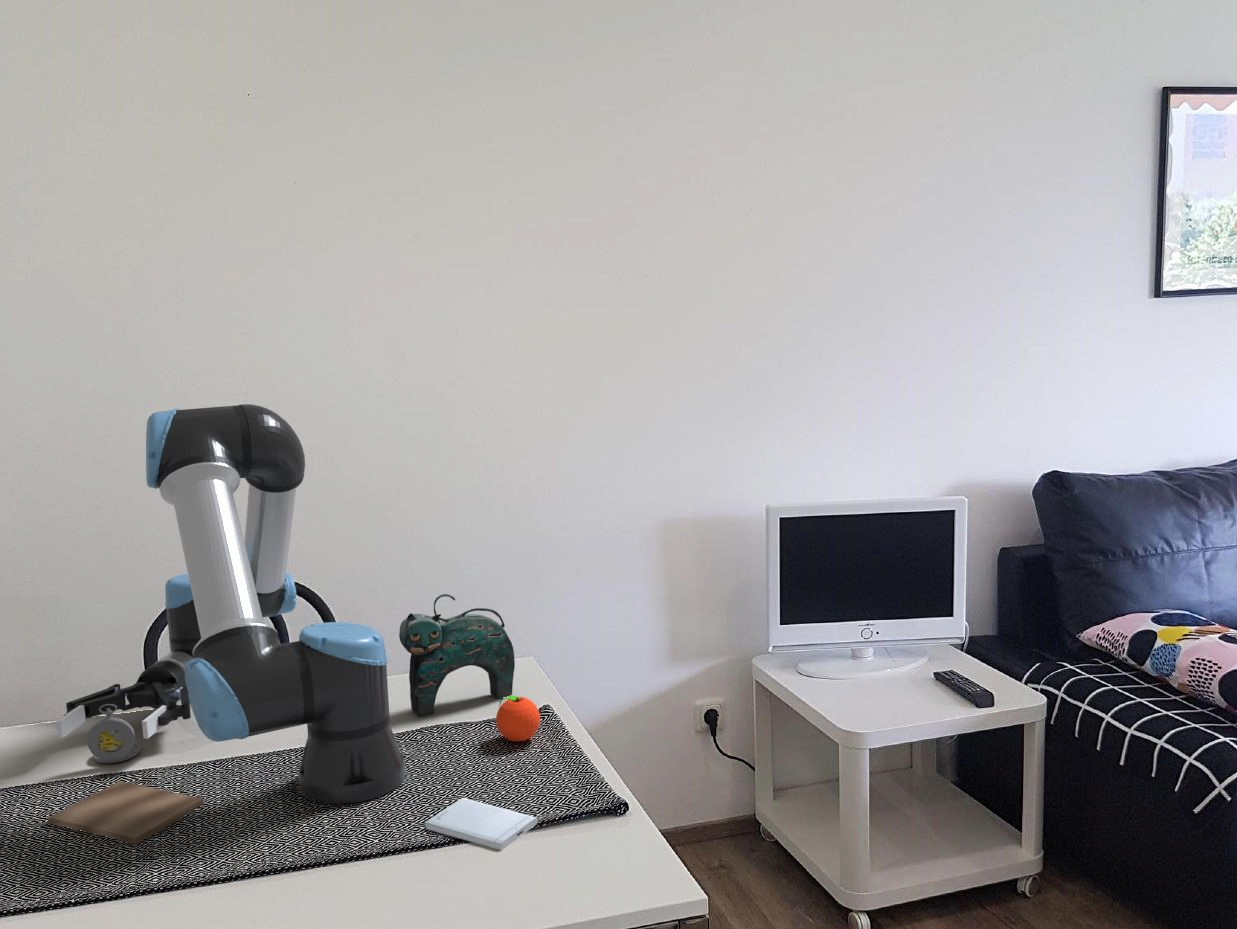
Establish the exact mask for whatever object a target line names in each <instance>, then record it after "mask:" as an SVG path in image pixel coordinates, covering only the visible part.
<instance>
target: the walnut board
mask: <svg viewBox="0 0 1237 929" xmlns="http://www.w3.org/2000/svg"><path fill="white" fill-rule="evenodd" d="M203 804H204V798H200V797H195V796H191V795H186V794H181V793H177V792H173V791H168V790H164V789H158V788H154V787H150V786H144V785H140V784H135V783H132V782H131V783H130V782H127V781H126V782H125V781H122V780H120V781H118V782H115V783H113V784H112V785H110V786H107V787H105V788H104V789H102V790H100V791H98V792H96V793H93V794H92V795H90V796H88V797H86V798H84V799H82V800H80V801H78V802H76V803H73V804H72V805H70V806H68V807H66V808H63V809H62V810H59V811H58V812H56V813H54V814H52V815H50V816H48V817H47V818H48V824H49V823H50V824H49V825H51V824H55V825H57V826H56V827H59V826H62V827H61V828H63V827H69V828H72V829H77V830H82V831H85V832H88V833H93V834H97V835H102V836H107V837H110V838H114V839H117V840H121V841H125V842H128V843H130V844H129V845H133V844H134V845H133V846H136V845H138V844H139V842H140V843H141V842H143V841H145V840H147V839H148V838H150V837H152V836H154V835H155V834H157V833H159V832H160V831H162V830H164V829H166V828H167V827H169V826H171V825H172V823H173V824H174V823H176V822H177V820H178V821H179V819H180V818H181V819H183V818H185V817H186V816H185V815H187V816H188V815H189V814H188V813H190V812H192V811H193V810H195V809H197V808H198V807H200V806H202V805H203ZM202 807H203V806H202ZM200 808H201V807H200ZM197 810H198V809H197ZM195 811H196V810H195ZM193 812H194V811H193ZM193 812H192V813H193ZM190 814H191V813H190ZM184 816H185V817H184ZM182 817H183V818H182ZM181 819H180V820H181ZM170 824H171V825H170ZM55 825H54V826H55ZM165 827H166V828H165ZM88 833H87V834H88ZM153 834H154V835H153ZM149 836H150V837H149ZM146 838H147V839H146ZM144 839H145V840H144ZM142 840H143V841H142ZM128 843H127V844H128Z"/></svg>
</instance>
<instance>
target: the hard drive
mask: <svg viewBox="0 0 1237 929" xmlns="http://www.w3.org/2000/svg"><path fill="white" fill-rule="evenodd" d="M538 819H539V818H538V817H536V816H532V815H528V814H525V813H521V812H518V811H514V810H510V809H506V808H502V807H498V806H495V805H492V804H487V803H484V802H480V801H476V800H472V799H469V798H464V797H463V798H460V799H459V800H457V801H455V802H454V803H452V804H451V805H449V806H448V807H446V808H445V809H443V810H442V811H441V812H439V813H437V814H436V815H434V816H433V817H431V818H430V819H428V820H427V821H426V824H425V829H426V830H429V831H433V832H435V833H439V834H442V835H446V836H450V837H452V838H458V839H461V840H463V841H467V842H471V843H475V844H478V845H481V846H485V847H489V848H493V849H496V850H499V851H503V850H504V849H506V848H507V847H508V846H510V845H511V844H512V843H513V842H515V841H516V840H517V839H519V838H520V837H522V836H523V835H524V834H526V833H527V832H528V831H530V830H531V829H532V828H534V827H535V826H536V825H538V824H539V820H538ZM537 823H538V824H537Z"/></svg>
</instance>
